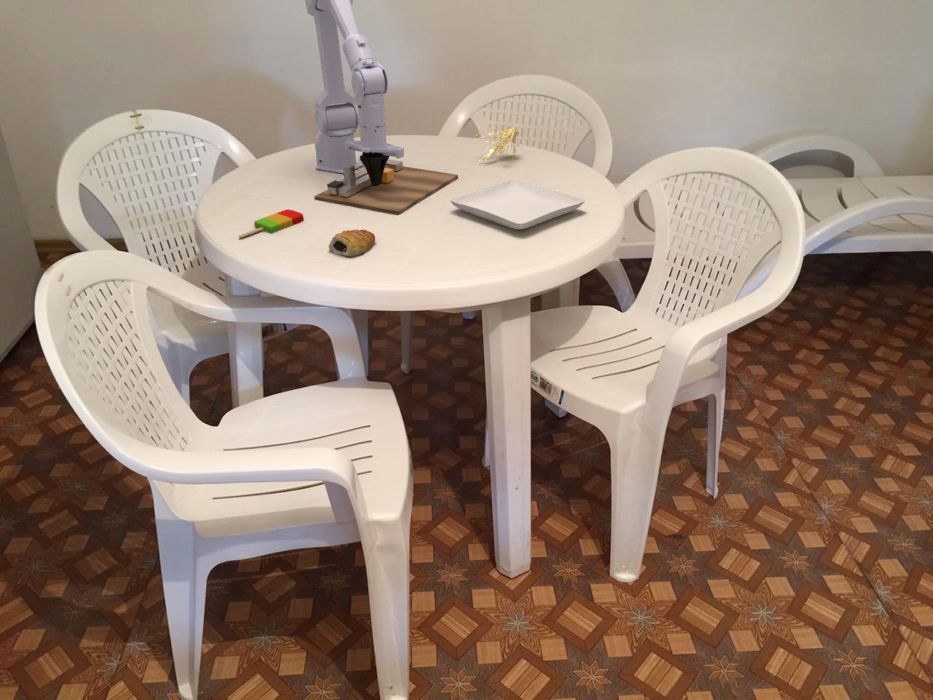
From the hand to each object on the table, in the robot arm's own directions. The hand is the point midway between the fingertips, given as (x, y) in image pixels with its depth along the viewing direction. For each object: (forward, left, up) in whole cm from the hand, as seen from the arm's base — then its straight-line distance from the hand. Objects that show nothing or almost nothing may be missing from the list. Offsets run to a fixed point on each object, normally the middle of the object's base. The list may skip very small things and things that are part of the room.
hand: (376, 184), depth 166 cm
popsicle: (-8, -29, -2) cm, 30 cm away
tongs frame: (-5, +3, -1) cm, 6 cm away
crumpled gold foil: (+15, +35, -2) cm, 39 cm away
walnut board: (+1, +3, -2) cm, 4 cm away
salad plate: (+34, +2, -2) cm, 34 cm away
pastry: (+14, -30, -2) cm, 33 cm away
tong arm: (-3, 0, -1) cm, 3 cm away
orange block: (-1, +5, -1) cm, 5 cm away
